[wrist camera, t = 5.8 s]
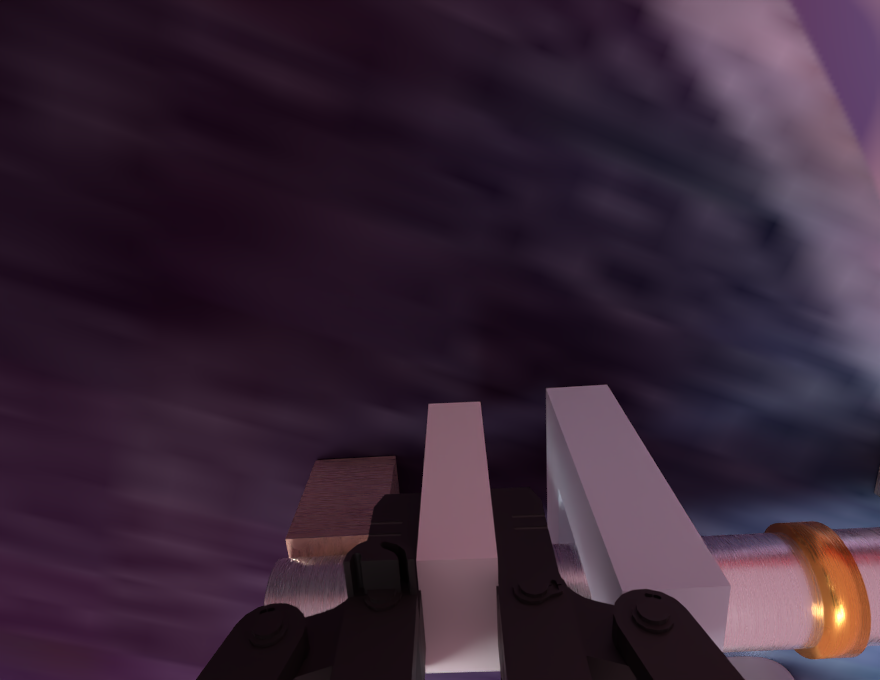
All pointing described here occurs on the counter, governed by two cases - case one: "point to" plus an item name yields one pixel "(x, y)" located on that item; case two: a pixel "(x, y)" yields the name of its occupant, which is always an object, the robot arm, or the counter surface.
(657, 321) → the counter surface
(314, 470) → the pipe rig
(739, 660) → the lumpy-topped squat cylinder
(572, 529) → the white square holed plate
